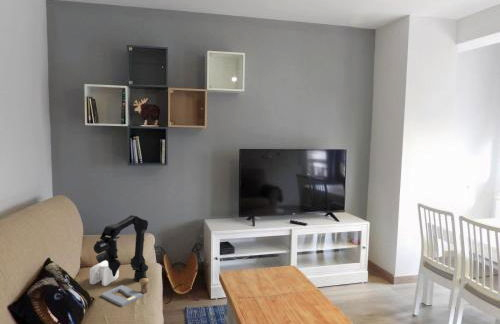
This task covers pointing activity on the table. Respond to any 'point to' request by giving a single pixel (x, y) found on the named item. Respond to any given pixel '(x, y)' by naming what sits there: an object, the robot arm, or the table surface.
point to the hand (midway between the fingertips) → (112, 273)
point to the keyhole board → (118, 299)
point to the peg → (144, 284)
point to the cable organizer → (102, 274)
